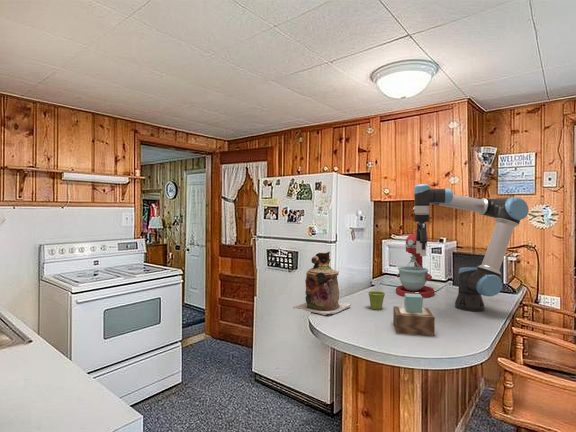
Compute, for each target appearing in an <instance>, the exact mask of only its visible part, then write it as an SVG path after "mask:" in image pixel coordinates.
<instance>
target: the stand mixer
mask: <svg viewBox="0 0 576 432" xmlns="http://www.w3.org/2000/svg"><path fill="white" fill-rule="evenodd" d="M428 241H429V240H428V239H427V243H426V247H428ZM405 252H407V253H408V254H410V255H412V256H409V257H410V261H409V262H408V265H406V266H398V268H397V270H398V273H397V274H396V277H397V279H398V278H399V281H400V283H401V285H398V286H396V288H395V293H396V295H398V296H401V297H404V298H405V293H409V294H420V295H421V296H422V297H427V298H430V297H429V296H432V295H433V296H435V289H434V288H433V287H431V286H428V285H426V283H427V281H431V280H432V279H433V276H432V275H431V274H430V273H429V268H426V267H424V266H423V256H420V253H416V233H411V234H410V235H408V236H407V237H406V239H405ZM410 265H411V266H410ZM415 292H419V293H415ZM433 296H432V297H433Z"/></svg>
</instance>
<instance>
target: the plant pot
mask: <svg viewBox="0 0 576 432" xmlns="http://www.w3.org/2000/svg"><path fill="white" fill-rule="evenodd" d="M367 294H368V297H369V303H370V308H371V309H373V310H377V311H379V310H383V309H382V308H383V304H384V303H383V302H384V298H385V295H386V293H385V292H384V291H377V290H373V291H372V290H371V291H368V292H367Z"/></svg>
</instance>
